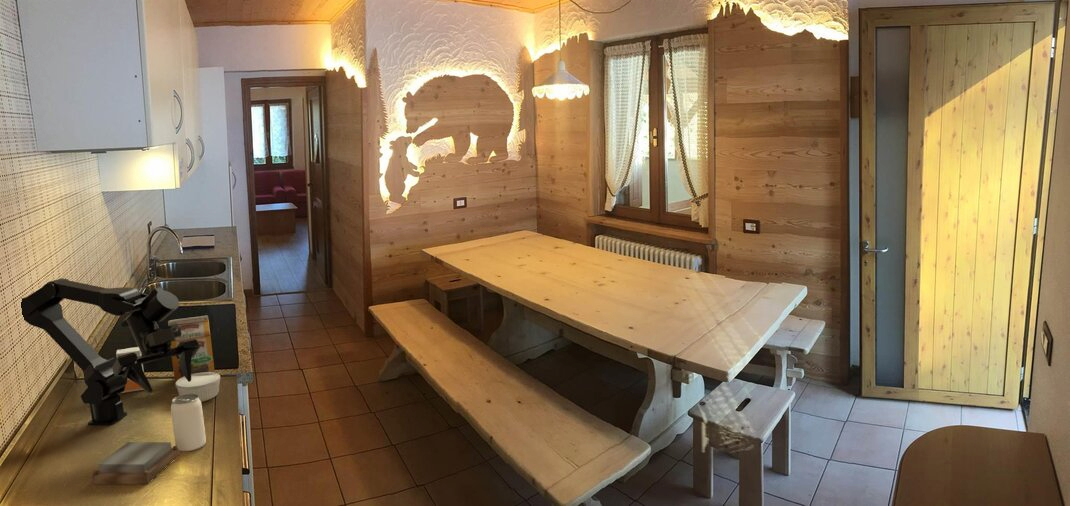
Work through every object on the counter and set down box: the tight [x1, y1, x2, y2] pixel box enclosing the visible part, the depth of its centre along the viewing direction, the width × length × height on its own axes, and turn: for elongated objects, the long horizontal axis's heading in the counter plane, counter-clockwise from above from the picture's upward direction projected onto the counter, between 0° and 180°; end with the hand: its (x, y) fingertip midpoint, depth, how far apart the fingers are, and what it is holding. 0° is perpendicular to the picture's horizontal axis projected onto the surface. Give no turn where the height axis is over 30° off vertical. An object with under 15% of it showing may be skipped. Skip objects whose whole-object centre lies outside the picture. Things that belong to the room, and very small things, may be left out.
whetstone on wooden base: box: [91, 441, 180, 485], centre depth 149 cm, size 12×12×4 cm
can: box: [170, 394, 207, 453], centre depth 158 cm, size 6×6×12 cm
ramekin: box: [175, 372, 221, 403], centre depth 188 cm, size 11×11×5 cm
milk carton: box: [167, 315, 216, 387], centre depth 200 cm, size 11×11×19 cm
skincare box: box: [115, 346, 145, 394], centre depth 193 cm, size 6×4×12 cm
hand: (170, 386), depth 162 cm, fingers open, 9 cm apart
